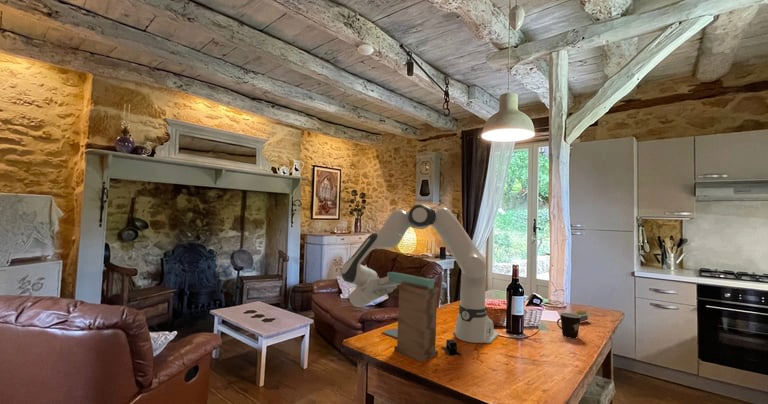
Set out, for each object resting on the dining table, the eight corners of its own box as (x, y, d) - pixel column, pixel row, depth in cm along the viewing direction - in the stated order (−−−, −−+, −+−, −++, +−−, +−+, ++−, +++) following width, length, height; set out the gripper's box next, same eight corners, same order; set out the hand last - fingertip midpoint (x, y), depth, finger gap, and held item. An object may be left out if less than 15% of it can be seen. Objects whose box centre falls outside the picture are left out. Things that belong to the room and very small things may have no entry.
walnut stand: (410, 345, 147) (412, 279, 148) (437, 355, 137) (439, 285, 138) (394, 351, 139) (396, 282, 141) (422, 362, 130) (424, 288, 131)
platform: (560, 321, 192) (560, 309, 193) (581, 318, 201) (581, 306, 201) (581, 328, 182) (581, 315, 182) (602, 324, 190) (602, 312, 190)
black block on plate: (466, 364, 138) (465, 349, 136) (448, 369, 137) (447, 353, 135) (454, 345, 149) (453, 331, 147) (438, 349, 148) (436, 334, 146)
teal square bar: (392, 279, 151) (392, 271, 151) (433, 288, 136) (434, 279, 136) (387, 280, 149) (387, 272, 149) (428, 289, 134) (428, 280, 134)
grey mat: (395, 329, 167) (395, 327, 167) (432, 342, 151) (432, 340, 152) (382, 333, 160) (382, 331, 160) (419, 347, 145) (419, 345, 145)
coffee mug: (575, 333, 171) (575, 313, 171) (583, 339, 162) (583, 318, 162) (550, 332, 172) (551, 311, 172) (557, 338, 163) (558, 316, 164)
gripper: (356, 284, 149) (376, 272, 141) (388, 279, 164) (408, 267, 156) (360, 298, 147) (381, 286, 139) (393, 292, 162) (413, 281, 154)
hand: (396, 276), depth 148 cm, fingers open, 8 cm apart
